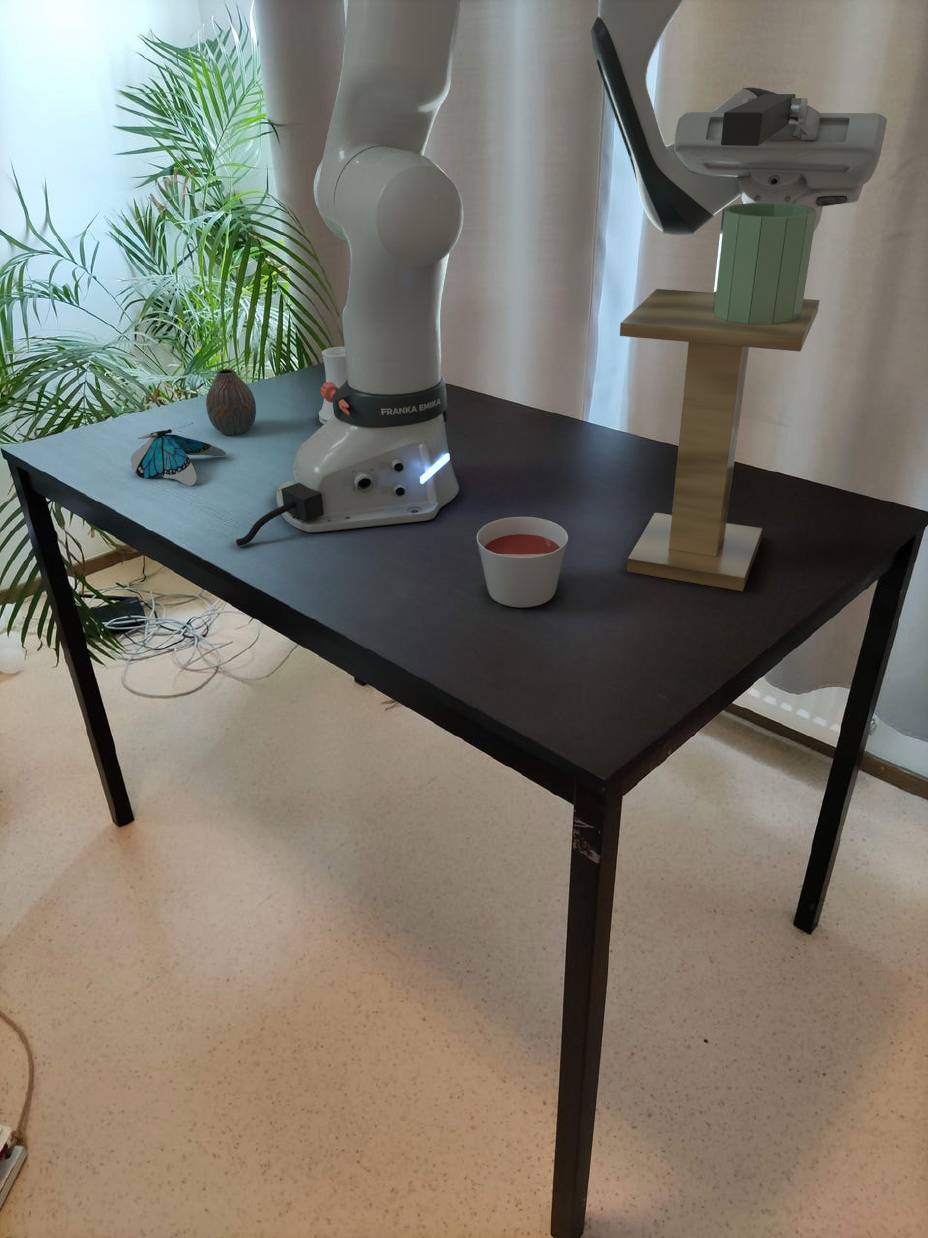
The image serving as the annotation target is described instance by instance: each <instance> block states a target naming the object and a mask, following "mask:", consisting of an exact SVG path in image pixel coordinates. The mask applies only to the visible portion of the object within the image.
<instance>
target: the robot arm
mask: <svg viewBox="0 0 928 1238" xmlns="http://www.w3.org/2000/svg"><path fill="white" fill-rule="evenodd" d="M685 1H686V0H597V17H596V18H595V21H594V23H593V24H592V27H591V29H590V34H591V36H590V37H591V43H592V50H593V53H594V58H595V61H596V64H597V67H598V71H599V73H600V77H601V79H602V83H603V87H604V88H605V92H606V96H607V98H608V101H609V105H610V106H611V110H612V112H613V115H614V118H615V121H616V123H617V127H618V129H619V132H620V135H621V137H622V140H623V144H624V147H625V149H626V152H627V155H628V157H629V161H630V164H631V167H632V170H633V174H634V177H635V180H636V184H637V189H638V194H639V198H640V199H639V200H640V202H641V205H642V207H643V210H644V212H645V214H646V216H647V217H648V219H649V221H650V222H651V223H652V224H653V226H654V227H655V228H656V229H658V230H659V231H660V233H661V234H664V235H668V236H675V237H676V236H678V237H681V236H682V237H687V236H694V235H695V234H696V233H697V232H699V231H700V230H701V229H702V228H703V227H704V226H705V225H706V224H707V223H709V222H710V221H711V220H712V219H713V218H714V217H715V215H717V214H718V213H719V212H720V211H723V208H725V207H728V206H730V204H732V203H733V202H734V201H735V200H737V199H738V198H739V197H740V199H741V201H742V204H746V203H785V204H797V205H802V206H807V207H812V208H814V209H815V210H816V211H817V214H816V220H815V227H814V232H816V229H817V228H818V225H819V223H820V221H821V219H822V213H823V208H824V207H829V206H835V205H842V204H851V203H855V202H857V201H859V199H860V197H861V194H862V191H863V188H864V185H866V183H868V182H869V181H870V180H871V179H872V177H873V176H874V174H875V171H876V169H877V167H878V165H879V162H880V157H881V153H882V148H883V144H884V140H885V136H886V135H885V134H886V128H887V122H888V119H887V117H885V115H882V114H880V113H878V112H877V113H876V112H819V110H817V109H815V108H813V107H812V106H810V105H808V104H809V103H808V102H809V101H808V98H807V97H795V98H791V103H790V108H789V114H788V119H789V120H788V121H789V124H788V125H787V126H785V127H784V128H782V129H781V130H780V131H778V132H777V133H775V134H774V135H773V136H771V137H770V138H769V139H767V140H766V141H764V142H763V143H762V144H760V145H759V146H722V145H721V137H722V128H723V118H724V112H727V111H729V110H731V109H733V108H735V107H737V106H740V105H742V104H744V103H746V102H748V101H751V100H753V99H755V98H757V97H759V96H762V95H764V94H777V93H776V92H774V91H770V90H767V89H763V88H758V87H743V88H741V90H739V91H738V92H736V93H735V94H733V95H732V96H731V97H729V98H728V99H726V100H725V101H724V102H723V103H721V104H720V105H719V106H718V107H717V108H715V109H714V110H712V111H710V112H709V111H707V112H706V111H704V112H703V111H689V112H685V113H683V114H682V115H681V116H680V117H678V120H677V124H676V130H675V135H674V141H673V142H671V143H669V144H667V145H666V142H665V140H664V139H665V138H664V136H663V134H662V130H661V128H660V124H659V121H658V117H657V115H656V111H655V109H654V106H653V102H652V100H651V97H650V93H649V89H648V84H647V83H648V81H647V79H648V78H647V76H648V71H649V66H650V63H651V60H652V58H653V55H654V53H655V51H656V49H657V47H658V45H659V43H660V41H661V39H662V38H663V36H664V34H665V33H666V31H667V30H668V28H669V26H670V24H671V23H672V21H674V19H675V17H676V16H677V14H678V13H679V11H680V10H681V8H682V6H683V5H684V3H685ZM461 10H462V0H347V10H346V19H345V21H346V22H345V33H344V35H345V36H344V43H343V45H344V46H343V56H342V64H341V72H340V77H339V83H338V88H337V93H336V97H335V102H334V106H333V110H332V114H331V117H330V122H329V125H328V131H327V134H326V140H325V145H324V150H323V155H322V159H321V162H320V163H319V165H318V167H317V170H316V172H315V175H314V180H313V198H314V202H315V205H316V208H317V210H318V213H319V215H320V217H321V219H322V220H323V222H324V224H325V226H326V227H327V229H329V231H330V232H331V233H332V235H334V236H335V237H337V238H338V239H339V240H340V241H343V242H344V243H346V244H348V248H349V254H350V272H349V282H348V291H347V298H346V302H345V306H344V308H343V310H342V314H341V323H342V324H341V325H342V333H343V334H342V336H343V345H344V346H343V347H345V358H346V370H347V380H346V382H345V383H344V384H343V385H342V386H341V387H340V388H339V389H338V388H337V387H336V385H334V383H332V382H326V381H325V382H324V383H323V384H322V386H321V387H320V393H321V394H320V395H321V396H322V397H323V399H324V398H325V399H326V400H327V401H328V402H331V403H332V402H333V411H334V416H332V417H331V418H330V419H329V420H328V421H327V422H326V423H325V424H322V426H321V427H320V428H318V429H317V430H316V431H315V432H314V433H313V434H311V435H310V436H309V437H308V438H307V439H306V440H305V441H304V442H302V443H301V444H300V445H299V446H298V448H296V451H295V454H294V456H293V457H294V458H293V463H292V474H291V475H292V477H291V480H289V481H285V482H283V483H282V484H280V486H279V487H278V488H277V491H276V494H275V495H276V496H275V498H276V500H275V501H276V507H277V508H275V509H272V510H271V511H269V512H267V513H266V514H265V515H263V516H261V517H260V518H259V519H258V520H257V521H256V522H255V523H254V524H253V525H252V527H251V528H250V530H249V531H248V533H247V534H246V535H245V536H243V537H241V538H236V539H235V543H236V546H238V547H240V546H241V547H242V546H245V545H247V544H249V543H250V542H252V540H253V539H254V538H255V536H257V534H258V532H259V531H260V530H261V528H262V527H264V525H266V524H267V523H268V522H270V521H271V520H273V519H275V518H276V517H278V516H281V517H282V518H283V519H284V520H285V521H286V522H287V523H288V524H289V525H291V526H292V527H294V528H296V529H297V530H300V531H304V532H306V533H321V532H322V533H323V532H330V531H331V532H332V531H341V530H350V529H359V528H369V527H370V528H371V527H377V526H378V527H379V526H387V525H397V524H407V523H415V522H425V521H431V520H433V519H435V517H436V516H437V515H438V513H439V511H440V509H442V507H444V506H445V505H447V504H448V503H450V502H452V501H453V500H454V499H455V498H456V496H457V495H458V493H459V491H460V485H459V483H458V480H457V477H456V475H455V471H454V467H453V463H452V460H451V455H450V450H449V443H448V438H447V429H446V423H447V421H448V419H447V418H448V415H447V413H448V393H447V387H446V379H445V377H444V376H443V375H442V351H441V350H442V348H441V347H442V345H441V306H442V296H443V291H444V284H445V281H446V280H445V279H446V275H447V268H448V262H449V258H450V253H451V252H452V250H454V247H455V246H456V244H457V243H458V241H459V239H460V236H461V234H462V230H463V226H464V214H465V213H464V204H463V199H462V197H461V194H460V191H459V189H458V187H457V185H456V184H455V182H453V180H452V179H451V178H450V177H449V175H447V173H446V172H445V171H444V170H443V169H442V168H441V167H440V166H439V165H438V164H437V163H435V162H434V161H433V160H432V159H430V158H428V157H426V156H425V150H426V147H427V144H428V140H429V137H430V134H431V131H432V128H433V125H434V122H435V120H436V118H437V114H438V112H439V110H440V108H441V106H442V105H443V103H444V101H445V100H446V98H447V96H448V94H449V92H450V88H451V86H452V81H453V79H452V78H453V71H454V65H455V64H454V63H455V55H456V47H457V42H458V41H457V40H458V32H459V24H460V16H461Z"/></svg>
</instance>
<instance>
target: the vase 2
mask: <svg viewBox="0 0 928 1238" xmlns="http://www.w3.org/2000/svg"><path fill="white" fill-rule="evenodd" d="M321 355H322V359H323V360H322V361H323V364H324V365H323V366H324V372H325V373H324V374H325V383H326V382H332V383H334V385H336V387H337V388H338V389H339V388H340V387H341V386H342V385H343V384H344V383H345V382H346V380H347V370H346V358H345V347H344V346H335V347H328V348H326V349H323V350H322V351H321ZM318 416H319V418H318V420H319V422H320V423H321V424H322V425H324V424H325V423H326V422H327V421H328V420H329V419H330V418H331V417H332V416H334V411H333V402H332V403H331V402H328V401H327V400H326V399H325V398H324V397H323V403H322V407H321V409H320V410H319V411H318Z"/></svg>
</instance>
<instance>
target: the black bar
mask: <svg viewBox="0 0 928 1238" xmlns="http://www.w3.org/2000/svg"><path fill="white" fill-rule="evenodd" d="M796 95H797V94H796V93H776V94H764V95H762V96H759V97H757V98H755V99H753V100H751V101H748V102H746V103H744V104H742V105H740V106H737V107H735V108H733V109H731V110H729V111H727V112H724V118H723V128H722V137H721V145H722V146H759V145H760V144H762V143H763V142H764V141H766V140H767V139H769V138H770V137H771V136H773V135H774V134H775V133H777V132H778V131H780V130H781V129H782V128H784V127H785V126H787V125H788V124H789V121H788V120H789V119H788V114H789V108H790V103H791V98H796Z"/></svg>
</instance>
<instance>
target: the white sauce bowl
mask: <svg viewBox="0 0 928 1238" xmlns="http://www.w3.org/2000/svg"><path fill="white" fill-rule="evenodd" d="M568 541H569V536H568V532H567V530H565V528H564V527H562V526H561V525H560V524H558V523H556V522H553V521H552V520H549V519H544V518H541V517H540V518H539V517H534V516H511V517H503V518H499V519H497V520H493V521H491V522H488V523H486V524H485V525H483V526H482V527H481V528H480V529H479V530H478V531H477V534H476V544H477V548H478V551H479V552H478V553H479V557H480V563H481V566H482V571H483V576H484V581H485V585H486V589H487V592H488V595H489V597H490V598H491V599H492V600H493V601H495V602H497V603H498V604H500V605H503V606H506V607H511V608H522V609H523V608H533V607H537V606H540V605H543V604H545V603H547V602H549V601H550V600H551V599H552V598H553V597H554V596H555V594H556V591H557V588H558V584H559V580H560V576H561V571H562V567H563V563H564V558H565V554H566V550H567V545H568Z"/></svg>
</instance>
